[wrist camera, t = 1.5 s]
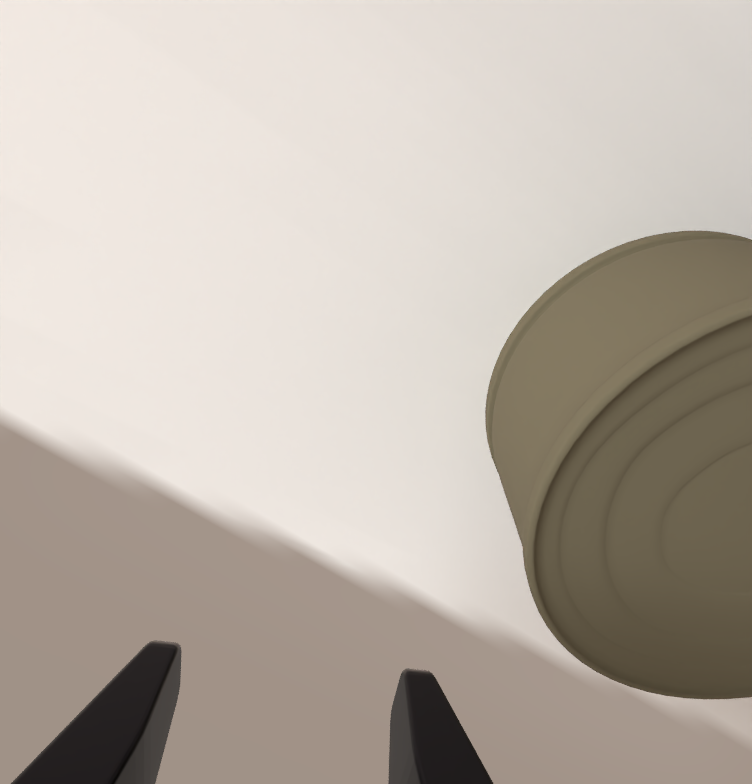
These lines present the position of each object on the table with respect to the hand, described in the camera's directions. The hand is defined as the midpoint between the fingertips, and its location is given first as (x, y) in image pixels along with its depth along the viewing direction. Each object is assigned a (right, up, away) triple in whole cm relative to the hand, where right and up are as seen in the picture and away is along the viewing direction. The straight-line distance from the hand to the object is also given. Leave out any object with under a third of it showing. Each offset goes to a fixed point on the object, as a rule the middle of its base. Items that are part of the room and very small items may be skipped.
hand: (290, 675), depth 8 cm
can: (+11, +4, +12) cm, 17 cm away
